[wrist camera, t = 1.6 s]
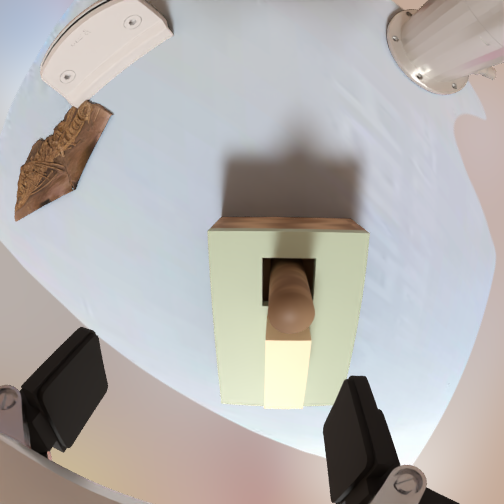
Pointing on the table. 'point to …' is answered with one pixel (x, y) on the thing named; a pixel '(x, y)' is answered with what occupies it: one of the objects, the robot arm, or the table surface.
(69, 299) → the table surface
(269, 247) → the lid
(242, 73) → the table surface
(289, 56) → the table surface
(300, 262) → the pin
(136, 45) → the white curved device casing
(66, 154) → the wooden fragment
